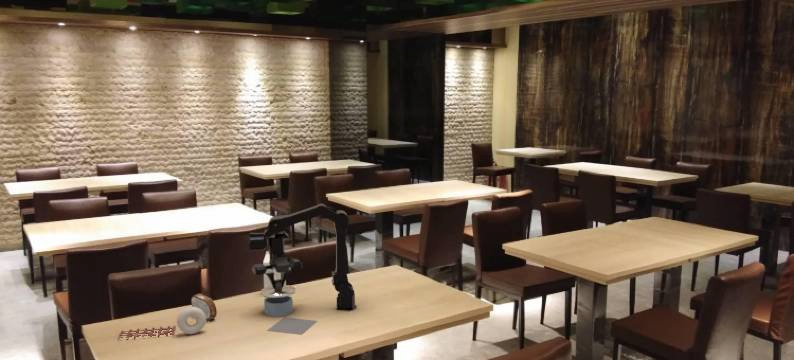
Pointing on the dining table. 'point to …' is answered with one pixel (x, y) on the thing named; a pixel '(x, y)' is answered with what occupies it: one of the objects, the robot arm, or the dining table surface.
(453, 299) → the dining table surface
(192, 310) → the donut
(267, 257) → the milk carton
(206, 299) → the tin
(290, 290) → the lid
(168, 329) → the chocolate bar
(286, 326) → the mat
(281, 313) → the blue bowl
